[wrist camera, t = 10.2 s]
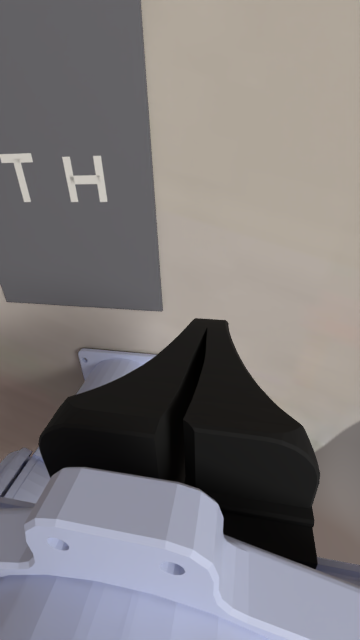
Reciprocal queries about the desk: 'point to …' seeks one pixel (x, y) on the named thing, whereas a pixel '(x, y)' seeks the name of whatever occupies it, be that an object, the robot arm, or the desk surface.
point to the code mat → (76, 156)
